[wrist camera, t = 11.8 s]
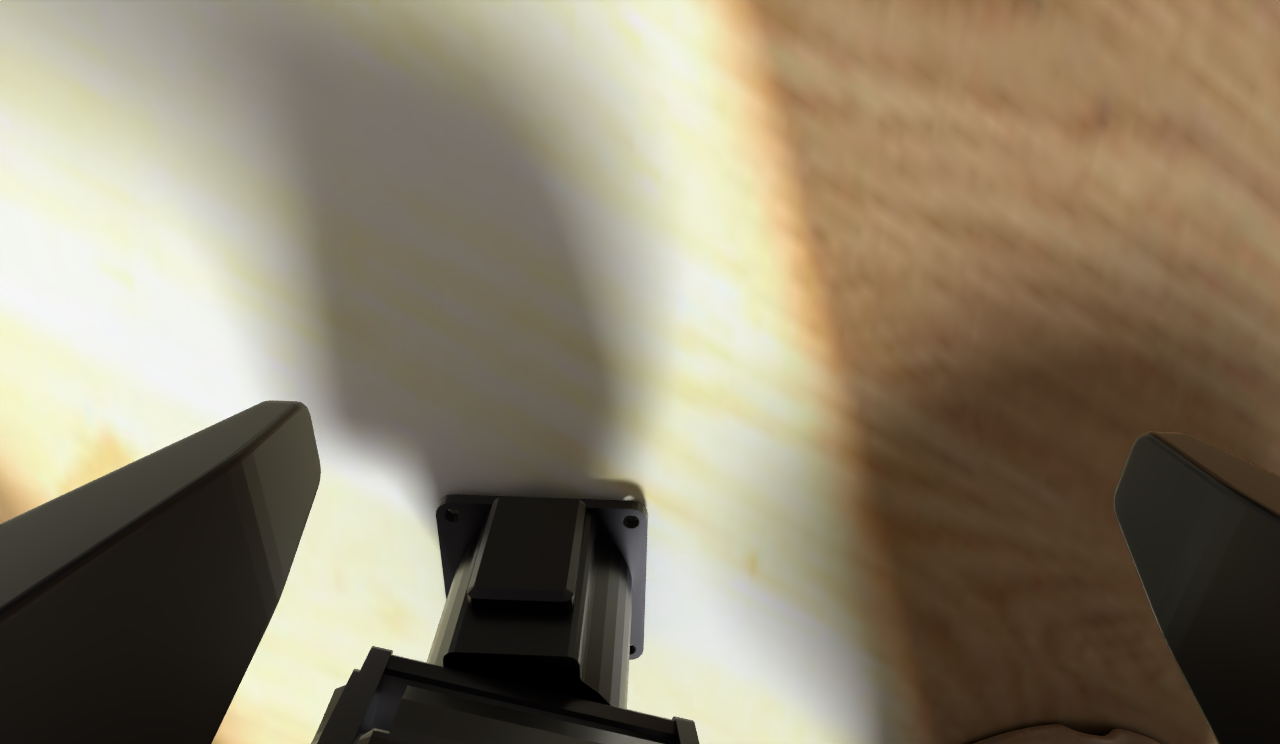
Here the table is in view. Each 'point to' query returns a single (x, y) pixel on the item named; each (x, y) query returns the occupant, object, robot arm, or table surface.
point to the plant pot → (1065, 737)
